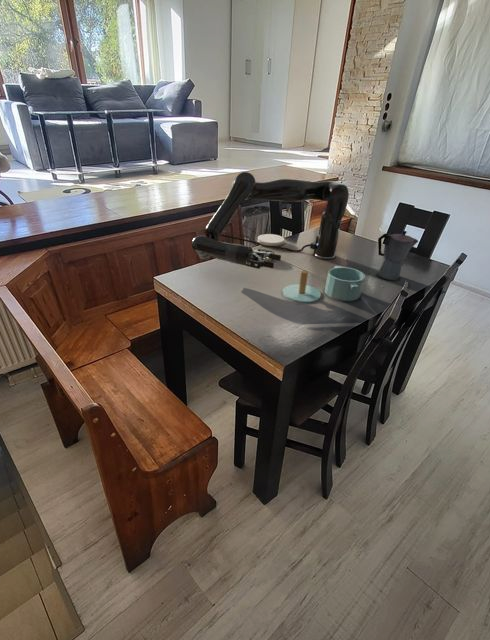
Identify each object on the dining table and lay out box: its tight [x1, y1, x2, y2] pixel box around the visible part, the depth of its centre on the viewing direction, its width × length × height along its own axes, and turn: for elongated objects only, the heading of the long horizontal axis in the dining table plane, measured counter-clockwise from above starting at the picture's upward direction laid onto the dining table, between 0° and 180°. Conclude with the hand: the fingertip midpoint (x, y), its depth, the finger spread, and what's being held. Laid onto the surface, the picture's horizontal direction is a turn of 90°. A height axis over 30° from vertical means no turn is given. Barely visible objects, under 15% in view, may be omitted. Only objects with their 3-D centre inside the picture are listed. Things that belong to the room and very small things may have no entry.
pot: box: [324, 265, 366, 302], centre depth 140 cm, size 14×19×8 cm
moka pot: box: [377, 230, 419, 281], centre depth 152 cm, size 10×15×20 cm, turn 78°
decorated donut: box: [253, 248, 276, 262], centre depth 170 cm, size 10×11×4 cm
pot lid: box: [282, 270, 322, 303], centre depth 139 cm, size 15×15×10 cm
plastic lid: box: [256, 233, 285, 247], centre depth 189 cm, size 14×14×2 cm
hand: (277, 261), depth 139 cm, fingers open, 8 cm apart
